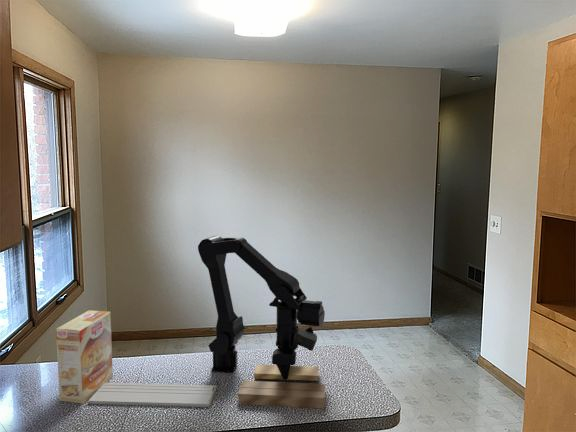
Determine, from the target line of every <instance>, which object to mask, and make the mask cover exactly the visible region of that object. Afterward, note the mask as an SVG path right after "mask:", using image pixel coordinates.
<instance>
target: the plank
mask: <svg viewBox="0 0 576 432" xmlns="http://www.w3.org/2000/svg"><path fill="white" fill-rule="evenodd" d="M319 373H320V371H319V366H313V365H312V366H310V365H309V366H306V365H305V366H304V365H290V370H289V375H288V380H287V381H306V382H307V381H309V382H310V381H311V382H312V381H313V382H318V381H319V376H320V375H319ZM253 378H254V380H275V379H283V377H282V375H281V373H280V371H279V369H278V367H277V365H276V364H256V365H255V369H254V373H253Z"/></svg>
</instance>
